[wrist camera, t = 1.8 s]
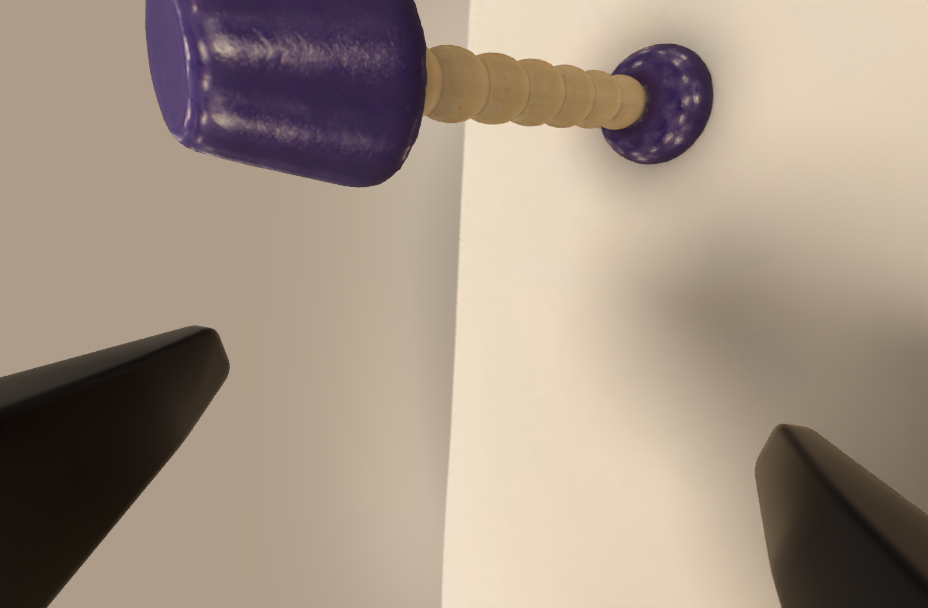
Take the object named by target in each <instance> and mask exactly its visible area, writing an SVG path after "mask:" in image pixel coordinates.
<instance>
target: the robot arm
mask: <svg viewBox="0 0 928 608" xmlns="http://www.w3.org/2000/svg"><path fill="white" fill-rule="evenodd" d="M229 365H230V364H229V360H228V357H227V355H226V352H225V349H224V347H223V344H222V342H221V339H220V336H219V334H218V333H217V331H216V330H214V329H212V328H207V327H202V326H189V327H184V328H181V329H177V330H174V331H170V332H166V333H162V334H159V335H155V336H151V337H148V338H144V339H140V340H137V341H133V342H129V343H126V344H122V345H118V346H115V347H111V348H107V349H103V350H100V351H96V352H92V353H89V354H85V355H81V356H78V357H75V358H70V359H67V360H63V361H59V362H56V363H52V364H48V365H45V366H41V367H37V368H33V369H30V370H26V371H22V372H19V373H15V374H11V375H8V376H4V377H0V608H47V607H48V606H49V604H50V603H51V602H52V601H53V600H54V598H55V597H56V596H57V595H58V594H59V592H60V591H61V590H62V589H63V587H64V586H65V585H66V584H67V582H68V581H69V580H70V579H71V578H72V576H73V575H74V574H75V573H76V572H77V571H78V569H79V568H80V567H81V566H82V565H83V563H84V562H85V561H86V560H87V559H88V557H89V556H90V555H91V554H92V553H93V551H94V550H95V549H96V548H97V546H98V545H99V544H100V543H101V542H102V540H103V539H104V538H105V537H106V536H107V534H108V533H109V532H110V531H111V529H112V528H113V527H114V526H115V525H116V523H117V522H118V521H119V520H120V519H121V517H122V516H123V515H124V514H125V512H126V511H127V510H128V509H129V508H130V507H131V505H132V504H133V503H134V502H135V501H136V499H137V498H138V497H139V496H140V494H141V493H142V492H143V491H144V490H145V488H146V487H147V486H148V485H149V484H150V482H151V481H152V480H153V479H154V478H155V476H156V475H157V474H158V473H159V471H160V470H161V469H162V468H163V467H164V465H165V464H166V463H167V462H168V461H169V459H170V458H171V457H172V456H173V455H174V453H175V452H176V451H177V450H178V448H179V447H180V446H181V444H182V443H183V442H184V440H185V439H186V438H187V436H188V435H189V433H190V432H191V430H192V429H193V427H194V426H195V425H196V423H197V422H198V420H199V419H200V417H201V416H202V414H203V413H204V411H205V410H206V408H207V407H208V405H209V404H210V402H211V401H212V399H213V398H214V396H215V395H216V393H217V392H218V390H219V389H220V388H221V386H222V385H223V383H224V382H225V380H226V378H227V376H228V374H229V369H230V366H229ZM755 478H756V485H757V491H758V497H759V503H760V509H761V515H762V521H763V527H764V533H765V539H766V545H767V551H768V557H769V562H770V567H771V572H772V576H773V579H774V583H775V587H776V591H777V594H778V597H779V601H780V604H781V608H928V515H927V514H925V513H924V512H923V511H921V510H920V509H919V508H917V507H916V506H915V505H913V504H912V503H911V502H909V501H908V500H906V499H905V498H904V497H902V496H901V495H900V494H898V493H897V492H896V491H894V490H893V489H892V488H890V487H889V486H888V485H886V484H885V483H884V482H882V481H881V480H880V479H878V478H877V477H876V476H874V475H873V474H872V473H870V472H869V471H868V470H866V469H865V468H864V467H862V466H861V465H860V464H858V463H857V462H855V461H854V460H853V459H851V458H850V457H849V456H847V455H846V454H845V453H843V452H842V451H841V450H839V449H838V448H837V447H835V446H834V445H833V444H831V443H830V442H829V441H827V440H826V439H825V438H823V437H822V436H821V435H819V434H818V433H817V432H815V431H814V430H812V429H810V428H807V427H801V426H795V425H789V424H779V425H777V426H776V427H775V428H774V430H773V431H772V433H771V435H770V437H769V438H768V440H767V442H766V444H765V446H764V448H763V449H762V451H761V453H760V455H759V457H758V459H757V462H756V467H755Z"/></svg>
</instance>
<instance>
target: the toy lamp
mask: <svg viewBox="0 0 928 608" xmlns="http://www.w3.org/2000/svg"><path fill="white" fill-rule="evenodd" d="M145 24H146V25H145V27H146V28H145V29H146V40H147V50H148V58H149V66H150V73H151V77H152V82H153V86H154V90H155V93H156V97H157V100H158V103H159V106H160V110H161V112H162V116H163V118H164V121H165V123H166V125H167V127H168V129H169V131H170V132H171V133H172V135H173V136H174V137H175V138H176V139H177V140H178V141H179V142H180V143H181V144H183V145H184V146H186V147H187V148H189V149H192V150H194V151H196V152H200V153H203V154H207V155H210V156H214V157H218V158H222V159H227V160H231V161H235V162H239V163H243V164H246V165H251V166H255V167H260V168H265V169H269V170H274V171H279V172H283V173H287V174H292V175H297V176H301V177H306V178H311V179H315V180H319V181H324V182H329V183H333V184H338V185H343V186H349V187H369V186H375V185H378V184H381V183H383V182H385V181H386V180H387V179H389V178H390V177H392V176H393V175H394V174H395V173H396V172H397V171H398V170H400V168H401V167H402V164H403V163H404V162H405V160H406V158H407V157H408V155H409V152H410V150H411V148H412V146H413V144H414V143H415V141H416V139H417V137H418V133H419V128H420V126H421V120H422V117H423V116H425V115H426V116H428V117H429V118H431V119H434V120H436V121H439V122H444V123H458V122H462V121H466V120H468V119H470V118H472V119H473V120H475V121H477V122H480V123H484V124H502V123H506V122H508V121H512V122H513V123H516V124H519V125H523V126H538V125H542V124H544V123H545V124H547V125H549V126H552V127H556V128H566V127H571V126H574V125H576V126H578V127H582V128H589V129H592V128H598V127H601V129H602V132H603V135H604V137H605V139H606V141H607V142H608V144H609V145H610V146H611V147H612V149H613V150H614V151H616V152H617V153H618V154H619V155H621V156H623V157H624V158H626V159H628V160H630V161H633V162H635V163H640V164H657V163H662V162H666V161H669V160H671V159H673V158H675V157H677V156H678V155H680V154H682V153H683V152H684V151H685V150H686V149H687V148H688V147H690V146H691V145H692V144H693V142H694V141H695V139H696V138H697V137H698V136H699V135H700V133H701V131H702V130H703V128H704V126H705V124H706V121H707V119H708V117H709V113H710V109H711V103H712V97H713V94H712V86H711V78H710V75H709V72H708V70H707V68H706V66H705V64H704V63H703V62H702V60H701V59H700V58H699V56H698V55H697V54H695V53H694V52H693V51H691V50H690V49H688V48H685V47H683V46H680V45H676V44H658V45H653V46H649V47H646V48H644V49H641V50H639V51H637V52H635V53H633V54H631V55H630V56H629V57H627V58H626V59H625V60H624V61H623V62H621V63H620V64H619V65H618V66H617V68H616V69H615V70H614V72H613V73H612V74H611V75H609V74H608V73H605V72H603V71H598V70H590V71H585V72H584V71H583V70H582V69H580V68H578V67H575V66H571V65H558V66H552V65H551V64H549V63H548V62H546V61H542V60H539V59H523V60H520V61H516V60H515V59H514V58H512V57H510V56H507V55H504V54H500V53H483V54H479V55H477V56H476V55H475V54H473V53H472V52H471V51H469V50H467V49H464V48H462V47H459V46H454V45H440V46H436V47H433V48H430V49H428V48H427V47H426V43H425V38H424V31H423V28H422V26H421V21H420V18H419V15H418V12H417V8H416V4H415V2H414V0H146V19H145Z"/></svg>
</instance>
